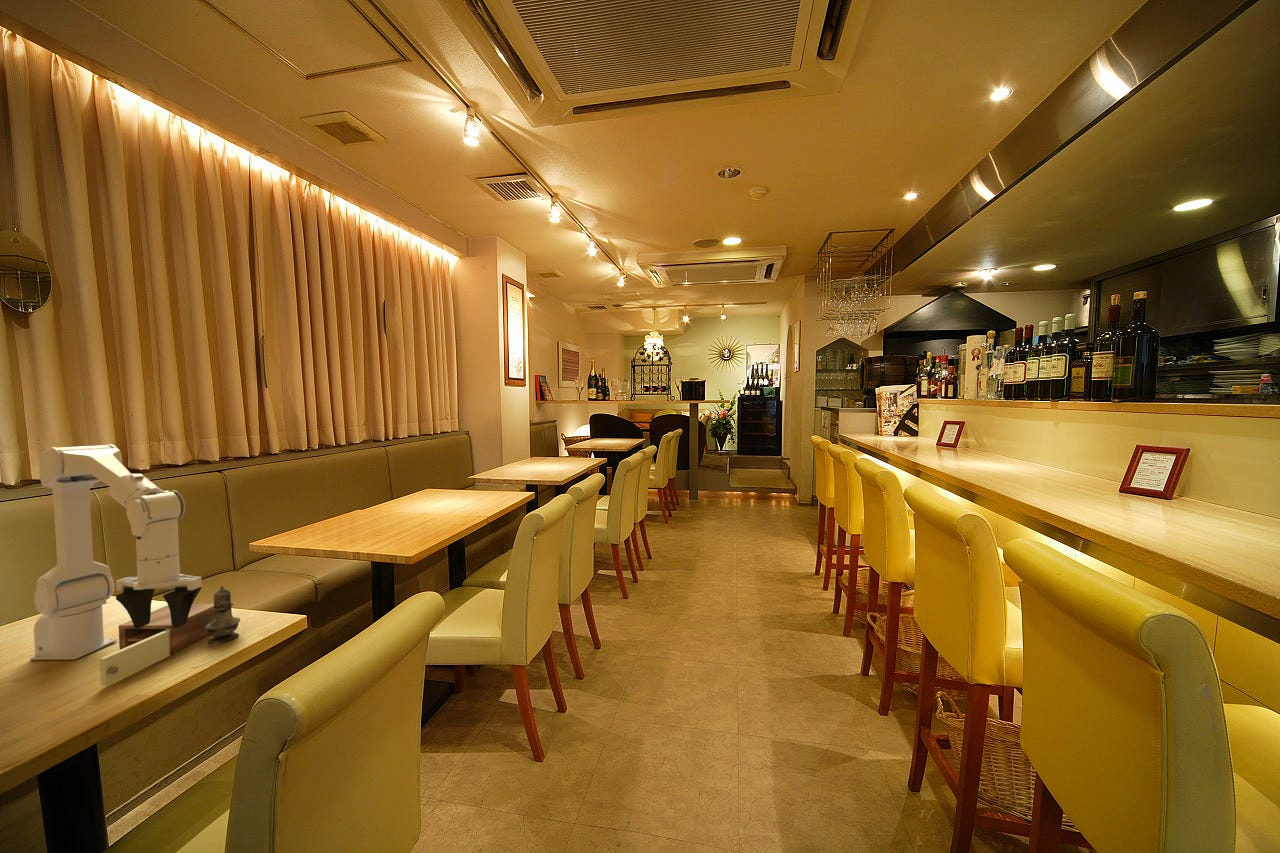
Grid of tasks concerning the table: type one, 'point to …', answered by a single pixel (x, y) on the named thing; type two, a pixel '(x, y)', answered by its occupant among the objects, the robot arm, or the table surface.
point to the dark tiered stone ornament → (222, 619)
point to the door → (134, 658)
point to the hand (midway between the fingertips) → (161, 625)
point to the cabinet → (162, 621)
